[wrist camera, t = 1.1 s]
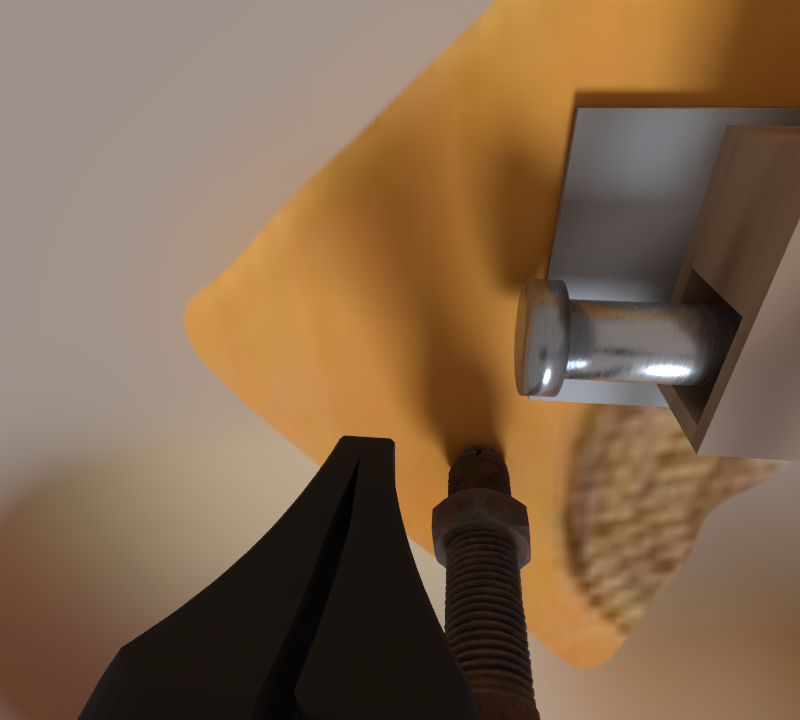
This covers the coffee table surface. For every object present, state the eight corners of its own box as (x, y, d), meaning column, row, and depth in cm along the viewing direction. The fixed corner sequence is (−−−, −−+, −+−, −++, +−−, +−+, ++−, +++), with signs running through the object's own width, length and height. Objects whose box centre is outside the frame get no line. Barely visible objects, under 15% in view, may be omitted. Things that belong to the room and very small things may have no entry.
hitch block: (952, 108, 16) (1164, 137, 11) (790, 408, 23) (879, 507, 18) (576, 106, 17) (622, 132, 12) (527, 394, 24) (545, 484, 19)
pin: (787, 269, 18) (868, 325, 15) (743, 366, 21) (804, 436, 17) (524, 260, 19) (539, 312, 16) (511, 355, 22) (521, 419, 18)
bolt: (549, 452, 26) (634, 840, 13) (504, 510, 29) (540, 877, 16) (447, 415, 25) (436, 786, 13) (411, 478, 28) (372, 835, 15)
